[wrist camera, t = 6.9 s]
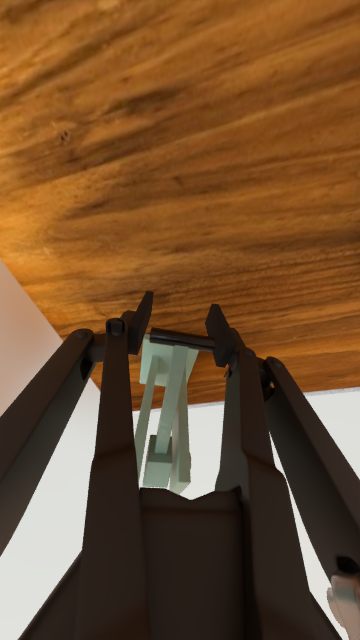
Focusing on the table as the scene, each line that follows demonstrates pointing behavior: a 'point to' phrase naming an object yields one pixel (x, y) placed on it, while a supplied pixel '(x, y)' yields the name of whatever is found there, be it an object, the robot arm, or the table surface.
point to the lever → (170, 402)
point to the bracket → (156, 374)
